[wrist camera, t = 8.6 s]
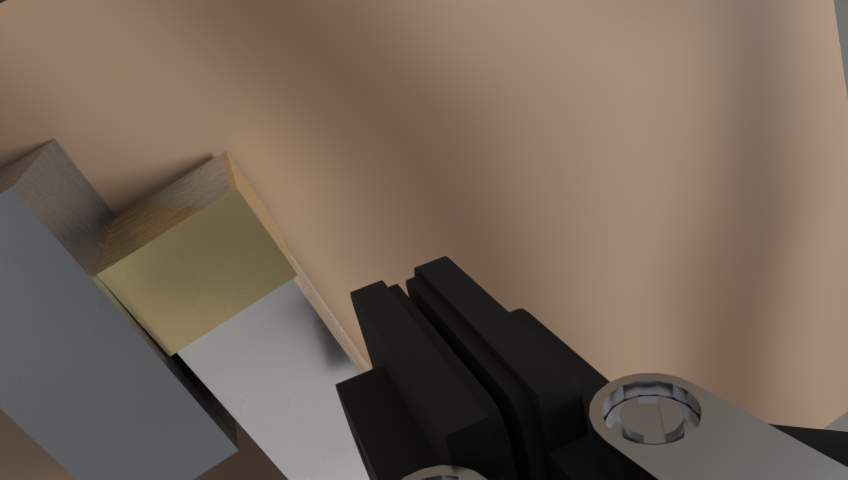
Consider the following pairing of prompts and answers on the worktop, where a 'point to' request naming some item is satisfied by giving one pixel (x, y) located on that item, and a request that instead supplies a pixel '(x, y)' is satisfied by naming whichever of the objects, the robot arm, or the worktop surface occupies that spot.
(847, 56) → the worktop surface
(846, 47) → the worktop surface
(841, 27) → the worktop surface
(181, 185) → the bar
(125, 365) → the block
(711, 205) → the lock board
